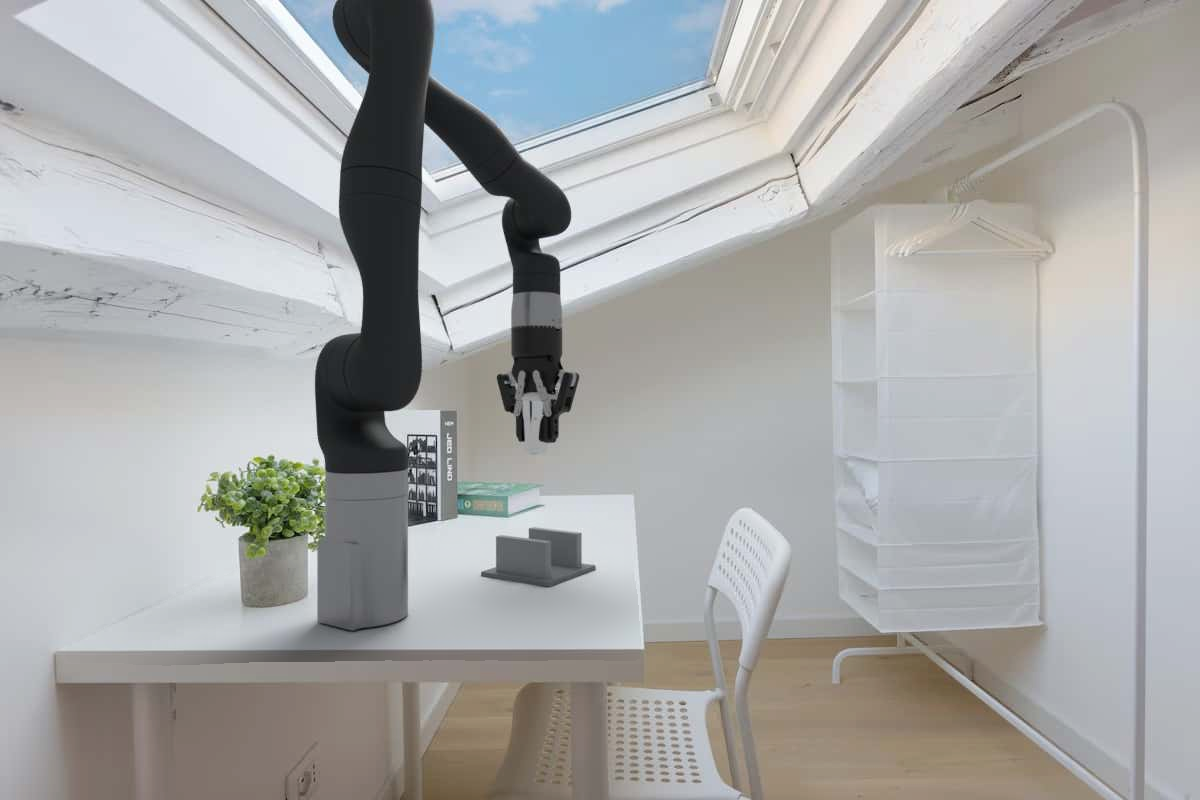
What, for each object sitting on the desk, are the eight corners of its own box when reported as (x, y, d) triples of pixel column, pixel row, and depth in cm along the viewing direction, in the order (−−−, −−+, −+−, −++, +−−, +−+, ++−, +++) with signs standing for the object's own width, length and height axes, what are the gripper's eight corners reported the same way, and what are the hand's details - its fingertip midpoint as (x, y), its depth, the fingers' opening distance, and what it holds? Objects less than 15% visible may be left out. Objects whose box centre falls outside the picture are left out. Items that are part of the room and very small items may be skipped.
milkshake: (554, 455, 102) (557, 386, 102) (517, 454, 103) (520, 384, 102) (557, 452, 107) (559, 386, 107) (521, 451, 107) (523, 385, 107)
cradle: (548, 587, 96) (548, 545, 96) (481, 575, 103) (481, 537, 103) (595, 569, 107) (595, 532, 107) (531, 560, 113) (531, 524, 113)
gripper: (482, 326, 105) (483, 442, 105) (562, 320, 98) (562, 445, 98) (514, 330, 112) (515, 439, 112) (591, 325, 104) (591, 442, 104)
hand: (537, 441), depth 105 cm, fingers closed on milkshake, 4 cm apart
